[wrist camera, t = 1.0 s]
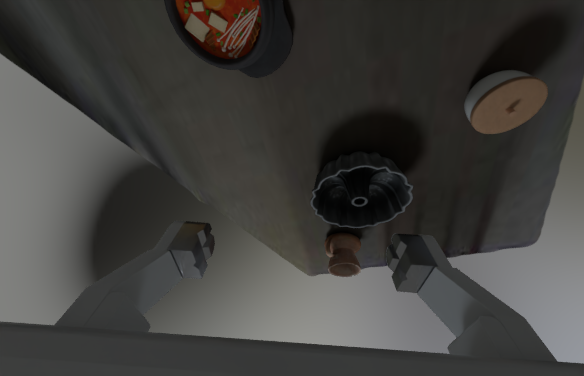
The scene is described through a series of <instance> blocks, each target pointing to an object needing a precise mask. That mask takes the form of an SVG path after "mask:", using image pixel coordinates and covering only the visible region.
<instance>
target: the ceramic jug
mask: <svg viewBox="0 0 584 376" xmlns="http://www.w3.org/2000/svg"><path fill="white" fill-rule="evenodd" d="M360 247H361V242H360V240H359V239H358V237H356V236H355V235H353V234H350V233H344V232H341V233H335V234H332V235H330V236H329V237H327V239H326V240H325V250H326V254H327V255H328V256H329V257H331V258H330V261H329V266H328V271H329V272H330V273H331V274H332V275H335V276H340V277H351V276H352V275H354V276H355V275H357V274H359V273H360V272H361V267H360V264H359V262H358V260H357V258H356V256H355V253H356V252H357V251H358V250H359V249H360Z"/></svg>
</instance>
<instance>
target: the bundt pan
mask: <svg viewBox="0 0 584 376" xmlns="http://www.w3.org/2000/svg"><path fill="white" fill-rule="evenodd" d="M412 188H413V185H412V184H411V183H409V182H408V181H407V178H406V176H405V175H404V174H403V173H402V172H401V170H399V169H398V168H397V166H396V165H395V163H394V162H393V161H392V160H391V159H389V158H386V157H381V156H380V155H379V154H378V153H377V152H372V153H370V154H367V153H365V152H361V151H357V152H354V153H352V154H350V155H349V156H347V155H343V154H341V155H340V157H339V158H338V159H337V160H333V161H330V162H329V163H327V164H326V165H325V167H324V169H323V171H321V172H320V173H319V174H318V175H317V178H316V182H315V187H314V189H313V190H312V193H313V197H312V198H311V206H312V207H313V208H314V209H315V210H316V211H315V214H316V215H318V216H321V218H322V219H323V220H324V221H325V222H328V223H331V224H336V225H338V226H339V227H345V226H347V227H351V228H362V227H366V226H376V225H377V224H378V223H384V222H387V221H390V220H392V219H393V218H395V217H396V216H397V214H399V213H402V212H404V211H405V207H406V206H407V205H408V204H409V203H410V202H411V201H412V198H413V195H412V193H411V190H412Z"/></svg>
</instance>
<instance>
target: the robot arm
mask: <svg viewBox="0 0 584 376" xmlns="http://www.w3.org/2000/svg"><path fill="white" fill-rule="evenodd" d="M210 232H211V226H210V224H209V223H201V222H189V221H174V222H172V224H171V225H170V226H169V228H168V229H167V231H166V232H165V233H164V235H163V236H162V238H161V239H160V241H159V242H158V244H157V245H156V246H155V248H154V249H153V250H152V249H150V250H148V251H146V252H145V253H143V254H141V255H140V256H138V257H137V258H135V259H133V260H132V261H130V262H128V263H127V264H125V265H123V266H122V267H120V268H118V269H117V270H115V271H114V272H112V273H110V274H109V275H107V276H105V277H104V278H102V279H101V280H99V281H97V282H95V283H94V284H92V285H91V286H89V287H87V288H86V289H85V290H84V291H83V292H82V293H81V295H80V296H79V297H78V298H77V299H76V300H75V302H74V303H73V304H72V305H71V306H70V308H69V309H68V310H67V311H66V312H65V313H64V315H63V316H62V317H61V318H60V319H59V321H58V322H57V323H56V324H55V325H39V324H26V323H12V322H0V376H584V364H581V363H568V362H557V360H556V359H555V358H554V356H553V355H552V354H551V352H550V351H549V350H548V348H547V347H546V346H545V344H544V343H543V342H542V340H541V339H540V338H539V336H537V334H536V333H535V331H534V330H533V328H532V327H531V326H530V324H529V323H528V322H527V321H526V319H525V318H524V317H522V316H521V315H520V314H518V313H517V312H515V311H514V310H513V309H512V308H510V307H509V306H507V305H506V304H505V303H503V302H502V301H501V300H499V299H497V298H496V297H495V296H494V295H492V294H491V293H490V292H488V291H487V290H485V289H484V288H483V287H481V286H480V285H479V284H477V283H476V282H474V281H473V280H472V279H470V278H469V277H468V276H466V275H465V274H464V273H462V272H461V271H459V270H458V269H457V268H452V266H451V264H450V263H449V261H448V260H447V258H446V256H445V255H444V253H443V252H442V250H441V248H440V247H439V245H438V243H437V242H436V240H435V239H434V237H432V236H431V235H414V234H394V235H393V236H392V239H391V240H392V243H393V244H391V245H389V246H388V248H387V251H386V260H387V264H388V267H389V268H390V269H391V270H392V271H393V272H394V273H393V275H392V279H393V282H394V284H395V287H396V290H397V291H401V292H412V293H417V294H418V295H419V297H420V298H421V299H422V300H423V301H424V302H425V303H426V304H427V305H428V306H429V307H430V309H431V310H432V311H433V312H434V313H435V314H436V315H437V316H438V317H439V318H440V319H441V321H442V322H443V323H444V324H445V325H446V326H447V327H448V328H449V329H450V330H451V332H452V333H453V334H454V335H455V336H456V337H457V338H456V339H455V340H454V341H453V342H452V343H451V344H450V345H449V346H448V350H449V353H450V354H443V353H429V352H415V351H401V350H387V349H374V348H360V347H345V346H332V345H318V344H305V343H290V342H277V341H263V340H249V339H235V338H221V337H208V336H192V335H179V334H166V333H152V332H148V331H149V329H150V324H149V323H148V321H147V320H146V319H145V317H144V316H143V315H144V314H145V313H146V312H147V311H148V310H149V309H150V308H151V307H152V306H154V305H155V304H156V303H157V302H158V301H159V300H160V299H161V298H162V297H163V296H164V295H165V294H166V293H168V292H169V291H170V290H171V289H172V288H173V287H174V286H175V285H176V284H177V283H179V281H181V280H182V278H202V277H203V274H204V272H205V270H206V268H207V262H206V260H207V259H208V258H210V257H211V256H212V253H213V250H214V244H215V243H214V236H213V235H212V234H210Z"/></svg>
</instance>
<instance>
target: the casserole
mask: <svg viewBox="0 0 584 376" xmlns="http://www.w3.org/2000/svg"><path fill="white" fill-rule="evenodd" d="M164 1H165V6H166V10H167V13H168V16H169V18H170V21H171V23H172V25H173V27H174V29H175V31H176V33H177V34H178V35H179V37H180V38H181V40H182V41H183V43H184V44H185V45H186V46H187V47H188V48H189V49H190V50H191V51H192V52H193V53H194V54H195V55H197V56H198V57H199V58H201V59H202V60H204V61H206V62H207V63H209V64H211V65H214V66H216V67H219V68H223V69H228V70H237V69H238V70H240V71H242V72H243V73H245V74H247V75H248V76H250V77H255V78H259V77H264V76H267V75H269V74H271V73H273V72H274V71H275V70H277V69H278V68H279V67H280V66H281V65H282V64H283V62H284V61H285V60H286V58H287V56H288V55H289V53H290V50H291V47H292V44H293V33H292V30H291V27H290V24H289V21H288V19H287V16H286V13H285V8H284V3H283V0H164Z"/></svg>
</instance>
